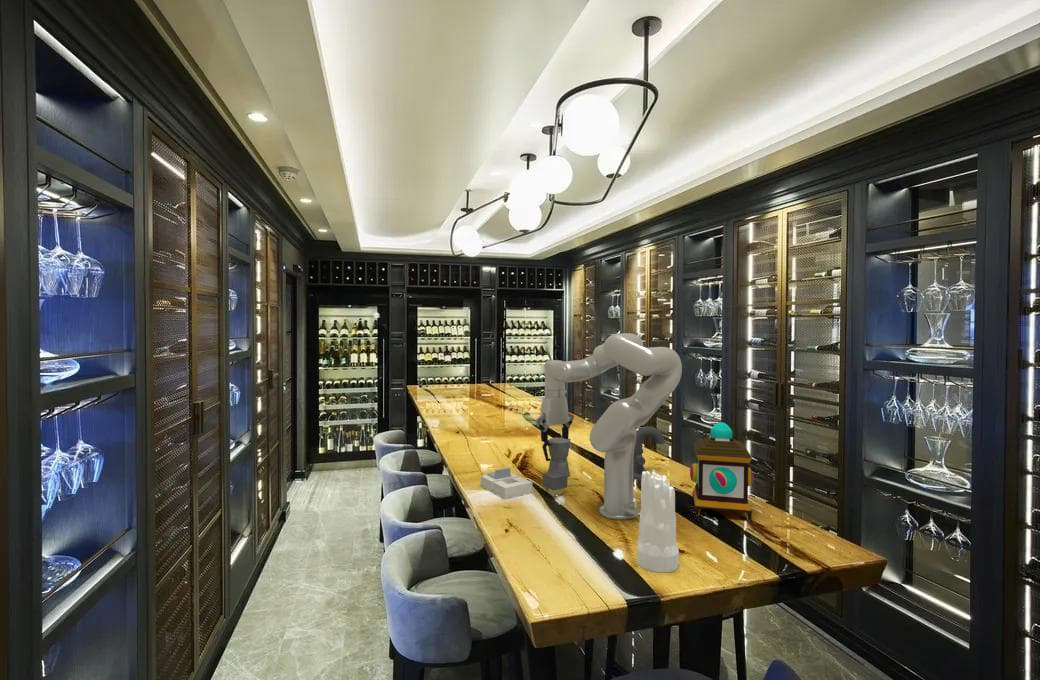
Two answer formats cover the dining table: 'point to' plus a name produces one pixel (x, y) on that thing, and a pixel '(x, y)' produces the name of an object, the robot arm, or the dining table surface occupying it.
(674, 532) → the decorative vase
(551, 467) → the coffeepot
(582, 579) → the dining table surface
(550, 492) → the plug
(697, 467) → the decorative lantern
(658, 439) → the faucet
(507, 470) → the plate
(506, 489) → the socket
